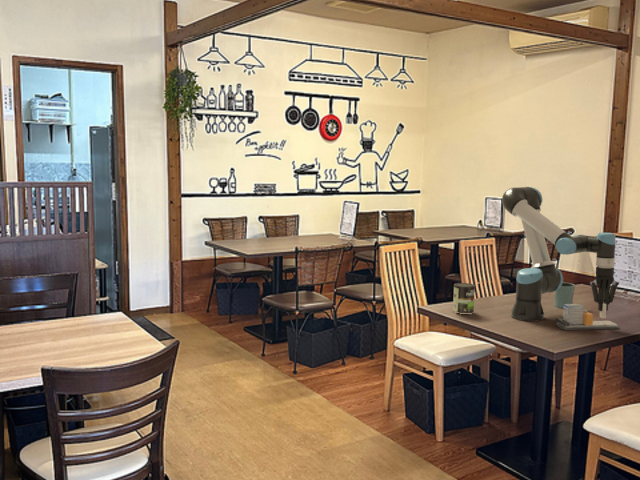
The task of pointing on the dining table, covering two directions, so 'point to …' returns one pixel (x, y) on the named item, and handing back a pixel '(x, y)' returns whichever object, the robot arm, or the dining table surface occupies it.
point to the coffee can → (464, 297)
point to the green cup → (564, 295)
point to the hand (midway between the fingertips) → (602, 317)
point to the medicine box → (573, 313)
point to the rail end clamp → (587, 318)
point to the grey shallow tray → (596, 325)
